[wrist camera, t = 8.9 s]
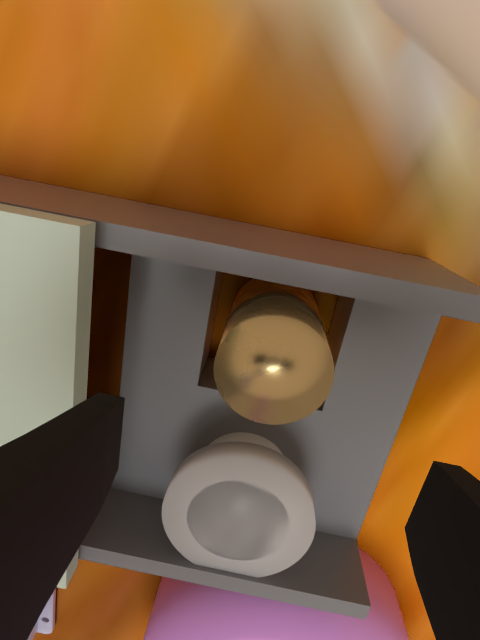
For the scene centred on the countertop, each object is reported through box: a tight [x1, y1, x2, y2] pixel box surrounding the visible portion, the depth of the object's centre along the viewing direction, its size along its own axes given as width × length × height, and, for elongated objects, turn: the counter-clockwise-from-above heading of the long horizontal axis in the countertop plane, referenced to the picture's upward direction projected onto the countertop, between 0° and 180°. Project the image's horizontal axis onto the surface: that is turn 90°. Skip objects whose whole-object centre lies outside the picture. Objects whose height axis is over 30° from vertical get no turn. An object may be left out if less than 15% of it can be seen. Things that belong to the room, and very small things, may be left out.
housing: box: [0, 175, 480, 620], centre depth 17 cm, size 14×24×6 cm, turn 80°
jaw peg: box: [214, 278, 335, 425], centre depth 16 cm, size 4×4×6 cm
